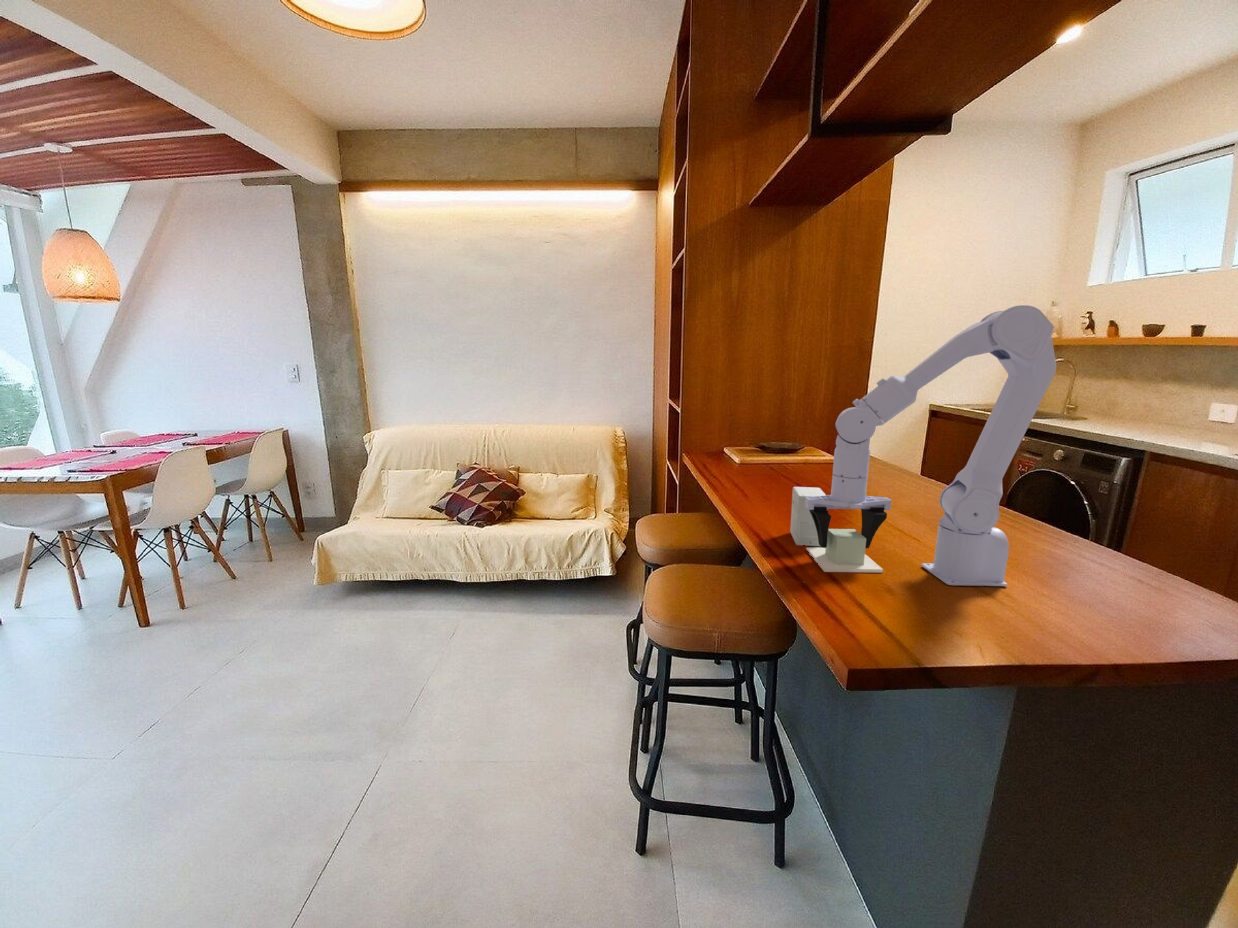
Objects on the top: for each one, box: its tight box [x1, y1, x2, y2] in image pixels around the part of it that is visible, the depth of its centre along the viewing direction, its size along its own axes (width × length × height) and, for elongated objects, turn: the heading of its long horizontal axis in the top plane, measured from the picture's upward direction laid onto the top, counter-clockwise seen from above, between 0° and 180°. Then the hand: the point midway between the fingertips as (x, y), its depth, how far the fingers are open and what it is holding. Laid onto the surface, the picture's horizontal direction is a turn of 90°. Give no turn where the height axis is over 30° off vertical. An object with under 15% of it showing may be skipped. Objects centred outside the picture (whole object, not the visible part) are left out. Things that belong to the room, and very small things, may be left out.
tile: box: [805, 546, 884, 574], centre depth 88 cm, size 10×10×1 cm
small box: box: [789, 486, 826, 547], centre depth 98 cm, size 8×6×10 cm
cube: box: [825, 528, 866, 565], centre depth 87 cm, size 5×5×5 cm
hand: (843, 546), depth 87 cm, fingers open, 7 cm apart
